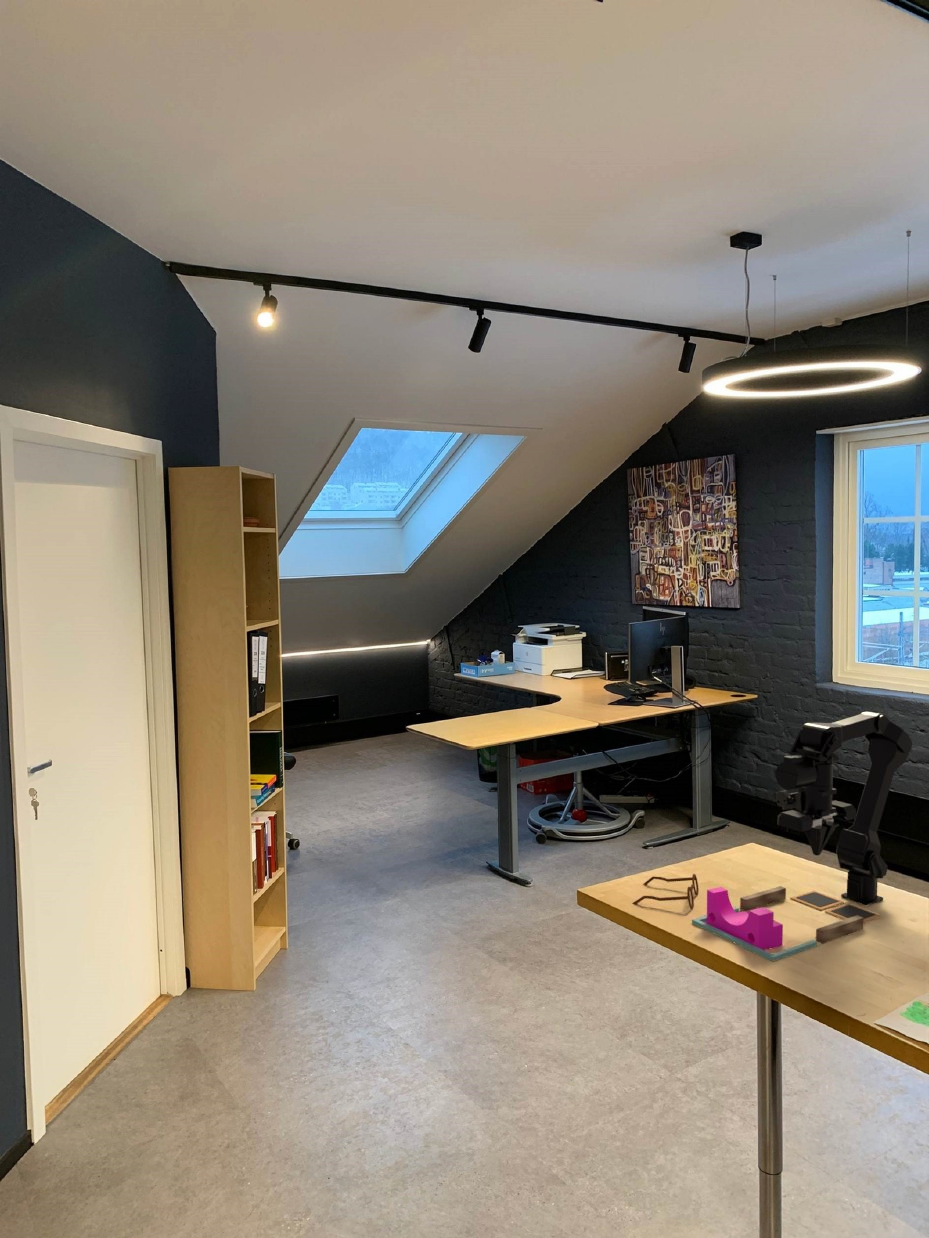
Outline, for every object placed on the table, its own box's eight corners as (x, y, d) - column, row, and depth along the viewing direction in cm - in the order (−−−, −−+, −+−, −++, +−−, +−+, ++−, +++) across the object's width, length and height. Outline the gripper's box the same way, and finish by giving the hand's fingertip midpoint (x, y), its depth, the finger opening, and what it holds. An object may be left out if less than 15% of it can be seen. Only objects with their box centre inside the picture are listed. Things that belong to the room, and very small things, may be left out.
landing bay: (735, 910, 196) (735, 906, 196) (817, 945, 178) (817, 941, 178) (692, 923, 189) (692, 919, 189) (772, 961, 171) (772, 957, 171)
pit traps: (813, 891, 206) (813, 889, 206) (881, 916, 192) (881, 914, 192) (790, 898, 202) (790, 897, 202) (857, 924, 188) (857, 923, 188)
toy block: (782, 946, 178) (783, 909, 178) (758, 952, 175) (759, 915, 175) (729, 919, 192) (730, 884, 191) (706, 924, 189) (707, 889, 188)
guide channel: (780, 896, 203) (780, 886, 203) (863, 929, 185) (863, 917, 185) (740, 908, 197) (740, 897, 196) (822, 943, 179) (822, 931, 178)
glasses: (692, 913, 195) (692, 891, 195) (632, 905, 200) (632, 883, 200) (699, 892, 208) (699, 871, 207) (642, 885, 212) (642, 864, 212)
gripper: (814, 769, 203) (813, 837, 204) (757, 781, 194) (756, 852, 195) (858, 780, 194) (856, 851, 195) (801, 792, 184) (799, 867, 185)
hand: (816, 854), depth 193 cm, fingers closed
